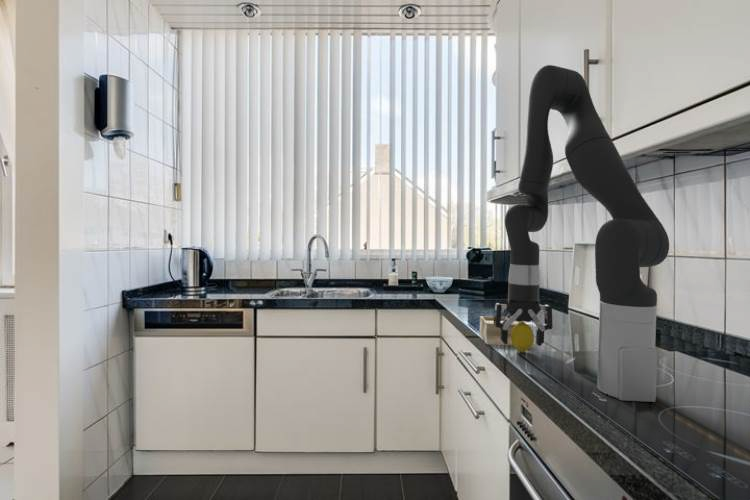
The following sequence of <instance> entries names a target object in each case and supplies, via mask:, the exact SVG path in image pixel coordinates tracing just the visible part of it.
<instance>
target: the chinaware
mask: <svg viewBox="0 0 750 500" xmlns="http://www.w3.org/2000/svg"><path fill="white" fill-rule="evenodd" d="M425 280H426V283H427V284H426V285H428V287H429V288H430V289H431V290H432V292H434V293H445V292H446V290H449V288H450V287H451V286H452V283H453V280H454V278H453V277H450V276H449V277H447V276H426V277H425Z"/></svg>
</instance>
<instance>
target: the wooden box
mask: <svg viewBox="0 0 750 500" xmlns="http://www.w3.org/2000/svg"><path fill="white" fill-rule="evenodd" d="M506 317H507V316H501V322H500V323H502V322H503V321H504V320H505V318H506ZM521 322H524V323H525V324H527V323H526V321H521ZM521 322H518V321H516V320H515V321H514V322H513V323H512V324H511V325H510V326H509V327H508V328H507V330H508V341H507V344H504V343H503V342H502V341H501V339H500V337H501V329H500V328H499V327H496V326H495V325H494V316H488V315H487V316H485V315H484V316H482V315H480V316H479V336H480V338H481V339H482V340H483V342H484V343H485V345H494V346H495V345H500V346H502V345H503V346H514V345H513V344H512V341H511V333H512V329H513V328H514V326H515V325H517V324H519V323H521Z"/></svg>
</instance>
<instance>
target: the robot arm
mask: <svg viewBox="0 0 750 500" xmlns="http://www.w3.org/2000/svg"><path fill="white" fill-rule="evenodd" d="M595 107H596V106H595V105H594V102H593V99H592V97H591V94H590V91H589V88H588V85H587V83H586V80H585V78H584V76H583V75H582V74H581V73H579V71H577V70H573V69H569V68H566V67H561V66H557V65H552V64H547V65H545V66H542V67H541V68H539V69H538V71H537V72H536V74H534V76H533V78H532V81H531V84H530V87H529V92H528V105H527V117H526V119H527V121H526V139H525V150H524V157H523V162H522V167H521V172H520V176H519V181H518V186H517V187H518V191H519V192H520V193H521V194H523V195H525V197H526V203H525V204H524V203H516V204H513V205H511V206H510V207H509V208H508V210H507V211H506V213H505V215H504V216H505V217H504V226H505V230H506V236H507V240H508V243H509V248H510V254H509V255H510V256H509V271H508V278H507V279H508V280H507V281H508V283H507V284H508V285H507V287H508V289H507V290H508V291H507V302H506V304H505V303H500V302H496V303H495V305H494V313H493V317H494V325H495V326H496V327H499V328H500V329H501V337H500V339H501V341H502V342H503V343H504V344H507V341H508V330H507V328H508V327H509V326H510V325H511V324H512V323H513V322H514V321H515V320H516V321H518V322H521V321H523V322H525V323H526V322H527V323H531V322H532V323H533V324H534V325H535V326H536V328H537V329H536V333H535V334H536V335H535V336H536V337H535V343H536V345H537V346H539V347H540V346H542V344H544V342H545V331H549V330H552V329H553V325H554V324H553V306H552V305H549V304H544V305H540V285H541V284H540V283H541V282H540V280H541V279H540V278H541V277H540V276H541V275H540V274H541V272H540V245H539V244H538V243H537V242H535V241H532V240H531V237H530V234H529V233H536V232H537V233H538V232H539V231H541V230H542V229H543V228H544V227H545V225H546V223H547V221H548V217H549V195H548V188H549V185H550V182H551V181H550V180H551V177H552V171H553V168H554V154H553V149H552V144H551V140H550V139H551V138H550V135H549V123H548V122H549V117H550V111H551V110H552V111H557V112H559V113H560V115H561V116H562V118H563V119H564V121H565V123H566V126H567V128H568V134H567V137H566V140H565V145H564V146H565V147H564V154H565V158H566V161H567V163H568V166H569V167H570V170H571V172H572V174H573V176H574V179H575V180H576V181H577V182H578V184H579V185H580V186H581V187H582V188H583V189H584V190H585V191H586V192H588V193H589V195H590V196H592V197H593V198H594V200H597V201H598V202H599V204H600V205H602V206H603V207H604V208H605V209H606V210H607V212H608V213H609V215H610V216H611V219H609V220H608V221H606V222H604V223H603V224H602V225H601V226H600V227H599V230H598V231H597V234H596V238H595V244H594V258H595V259H594V261H595V263H594V264H595V283H596V286H597V287H596V288H597V290H598V292H599V312H598V314H599V315H598V316H599V317H598V341H597V343H598V346H597V380H596V381H597V382H596V383H597V385H596V388H597V390H599V391H600V392H602V393H603V394H605V395H607V394H608V396H610V397H614V398H616V399H617V400H619V401H627V402H630V401H632V402H648V403H649V402H652V403H656V401H657V398H656V397H657V373H658V372H657V371H658V370H657V369H658V368H657V367H658V350H657V349H656V336H657V335H656V331H657V308H658V307H657V305H658V294H657V291H656V290H655V289H653V287H650V286H648V285H646V284H645V283H644V282H643V281H642V278H641V272H640V271H641V269H640V268H650V267H655V266H658V265H660V264H661V263H663V262H664V261H665V260H666V258H667V256H668V255H669V251H670V240H669V236H668V233H667V231H666V228H665V226H664V225H663V224H662V222H661V221H660V219H659V218H658V217H657V215H656V214H655V213H654V211H653V210H652V208H651V207H650V205H649V204H648V203H647V201H646V200H645V198H644V197H643V195H642V194H641V192H640V190H639V189H638V187H637V185H636V184H635V183H636V182H635V181H634V180H633V178H632V175H630V172H629V170H628V169H627V167H626V165H625V164H624V162H623V159H622V157H621V154H620V152H619V150H618V148H617V147H616V145H615V143H614V141H613V139H612V138H611V136H610V135H609V133H608V131H607V129H606V128H605V125H604V123H603V121H602V119H601V117H600V116H599V113H598V112H597V110H596V108H595ZM505 310H506V311H507V312H508V314H507V315H506V316H505V317H506V318H505V320H504V321H503V322H502V323H500V322H501V317H502V313H504V311H505ZM540 312H542V313H543V315H544V317H543V318H544V319H543V321H544V323H542V322H541V320H540V319H539V317H538V316H537V315H538V314H539V313H540Z"/></svg>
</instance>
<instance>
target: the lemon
mask: <svg viewBox="0 0 750 500" xmlns="http://www.w3.org/2000/svg"><path fill="white" fill-rule="evenodd" d="M524 322H525V321H523V322H521V323H519V324H517V325H515V326H514V328H513V329H512V333H511V341H512V344H513V345H512V346H513V347H514V348H515V349H517V350H518V351H519V352H520V353H524V352H525V351H527V350H529V349H531V348H532V346H533V345H534V341H535V335H534V331H533V329H532V327H531V326H530V325H529V324H528V323H526V322H525V323H526V324H525V323H524Z"/></svg>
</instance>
